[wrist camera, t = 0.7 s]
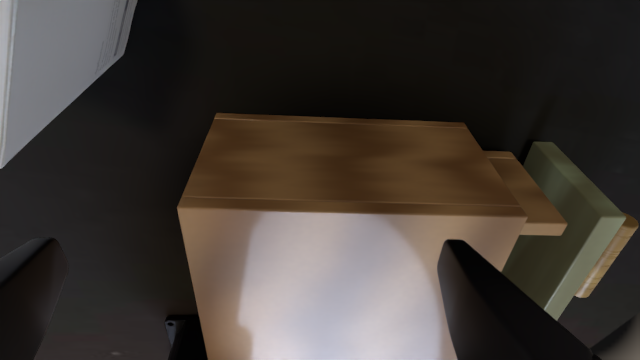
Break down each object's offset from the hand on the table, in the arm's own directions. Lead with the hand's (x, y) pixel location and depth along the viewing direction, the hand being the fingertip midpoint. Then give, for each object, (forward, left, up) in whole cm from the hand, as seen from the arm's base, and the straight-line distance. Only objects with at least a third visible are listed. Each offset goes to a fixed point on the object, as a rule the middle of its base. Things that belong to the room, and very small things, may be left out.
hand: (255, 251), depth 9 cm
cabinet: (-10, -3, -14) cm, 17 cm away
